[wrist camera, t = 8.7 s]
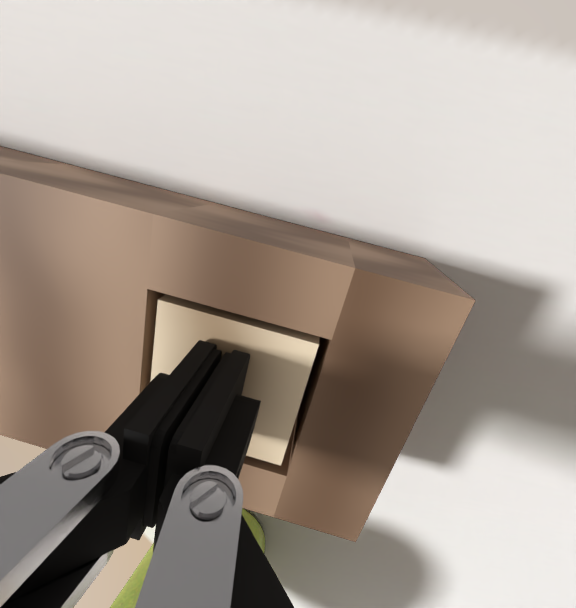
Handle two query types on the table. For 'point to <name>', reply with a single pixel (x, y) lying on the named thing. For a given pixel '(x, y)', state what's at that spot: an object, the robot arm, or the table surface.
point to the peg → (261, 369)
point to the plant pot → (130, 592)
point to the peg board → (223, 295)
